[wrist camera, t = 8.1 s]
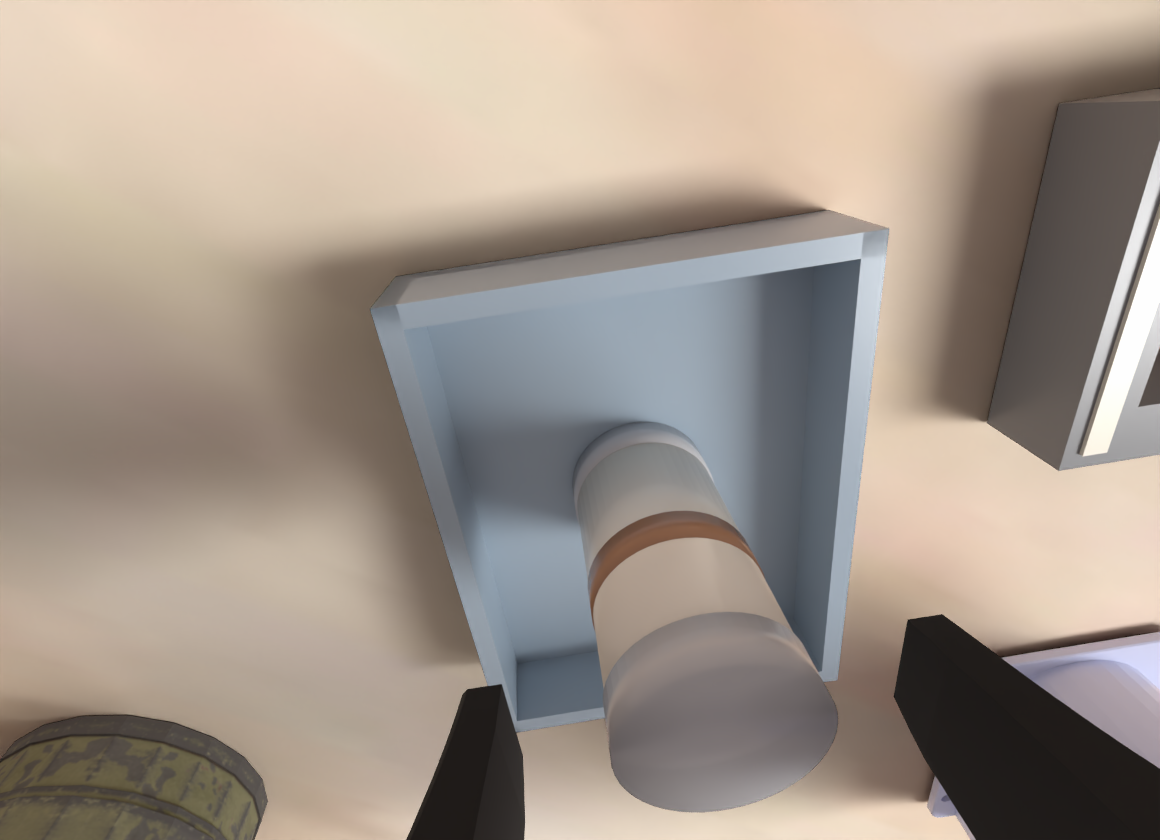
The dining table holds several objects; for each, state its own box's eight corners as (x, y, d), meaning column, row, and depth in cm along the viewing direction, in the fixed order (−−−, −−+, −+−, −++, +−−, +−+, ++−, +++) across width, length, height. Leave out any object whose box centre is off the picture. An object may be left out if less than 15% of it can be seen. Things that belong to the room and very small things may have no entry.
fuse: (699, 528, 17) (818, 798, 10) (575, 538, 16) (612, 823, 10) (708, 416, 15) (857, 652, 8) (568, 427, 15) (609, 678, 8)
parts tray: (802, 615, 19) (837, 679, 17) (505, 663, 19) (503, 735, 17) (828, 209, 13) (889, 228, 11) (395, 276, 13) (369, 308, 11)
